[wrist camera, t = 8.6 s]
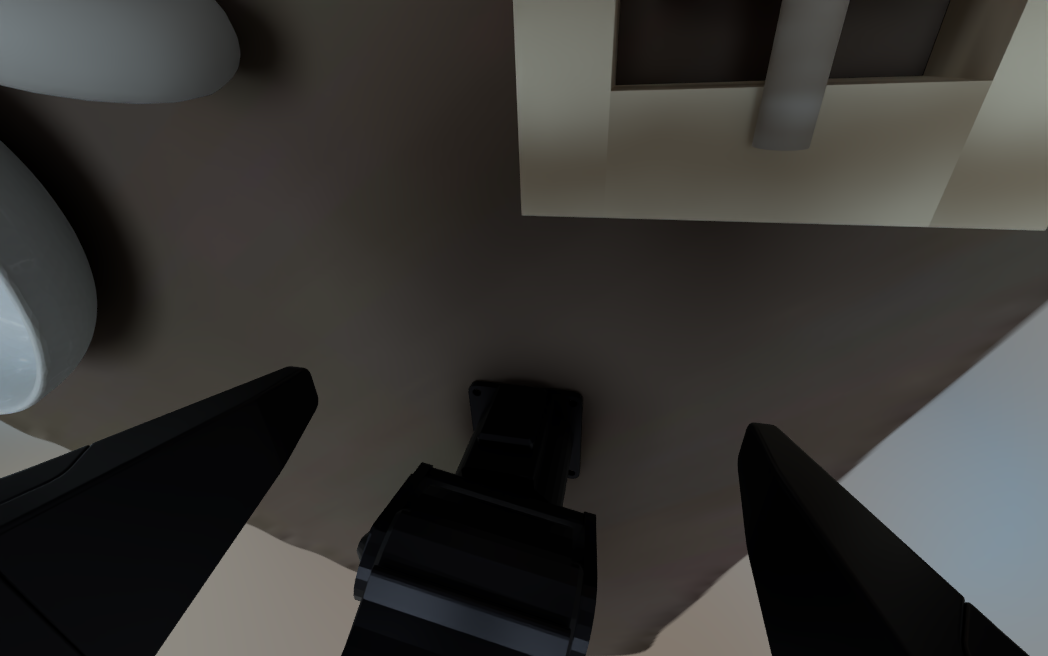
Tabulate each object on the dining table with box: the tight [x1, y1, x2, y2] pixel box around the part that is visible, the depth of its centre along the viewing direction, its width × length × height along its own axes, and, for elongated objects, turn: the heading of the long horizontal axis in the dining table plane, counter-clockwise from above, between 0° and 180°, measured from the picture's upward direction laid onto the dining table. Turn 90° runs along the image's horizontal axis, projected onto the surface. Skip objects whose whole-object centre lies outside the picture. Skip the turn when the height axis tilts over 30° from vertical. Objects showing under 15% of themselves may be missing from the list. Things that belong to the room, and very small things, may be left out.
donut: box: [0, 0, 241, 104], centre depth 15 cm, size 10×4×10 cm, turn 71°
